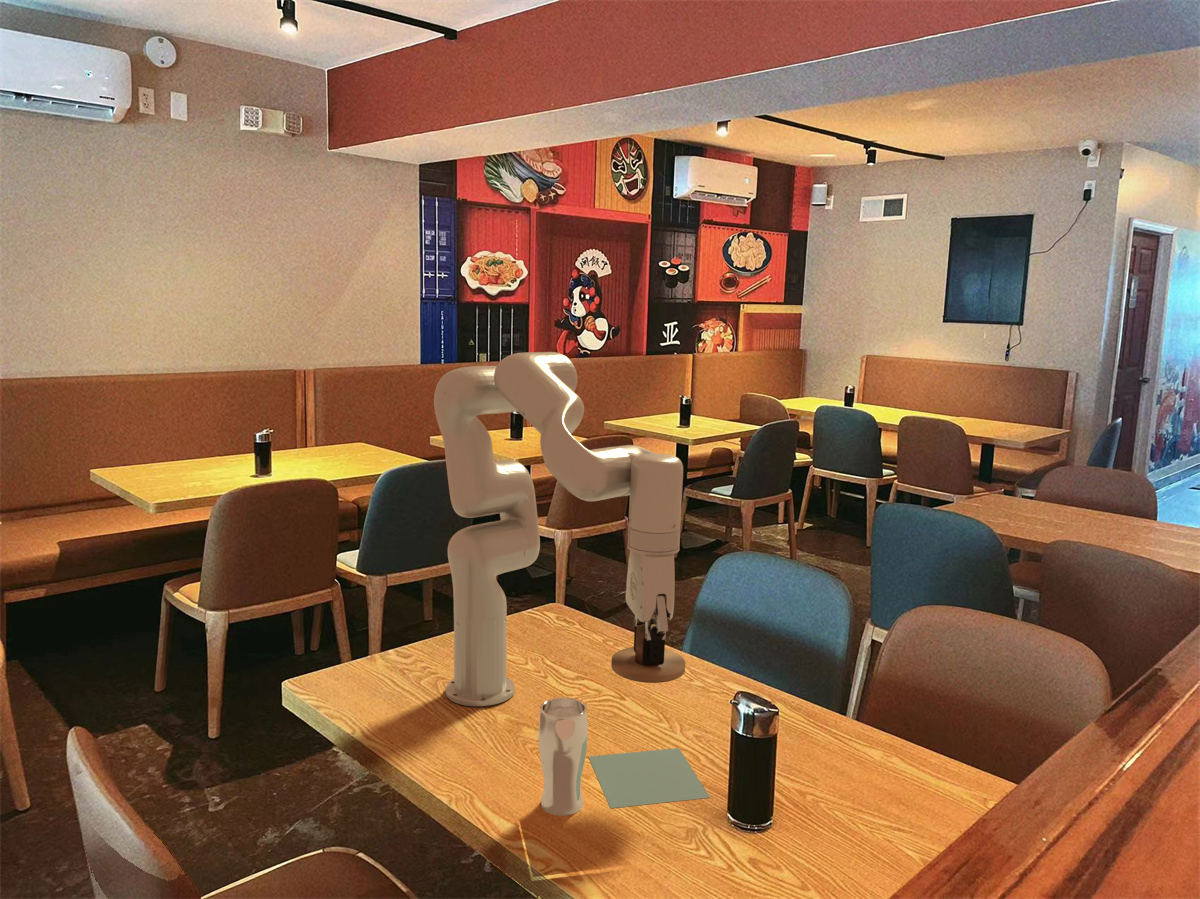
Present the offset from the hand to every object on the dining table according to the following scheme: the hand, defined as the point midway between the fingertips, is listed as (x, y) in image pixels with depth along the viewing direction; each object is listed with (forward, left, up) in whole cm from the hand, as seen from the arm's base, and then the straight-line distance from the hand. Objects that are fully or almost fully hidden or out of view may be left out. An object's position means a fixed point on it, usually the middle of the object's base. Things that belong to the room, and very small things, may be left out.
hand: (648, 656), depth 132 cm
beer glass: (+5, -14, -20) cm, 25 cm away
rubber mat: (0, 0, -19) cm, 19 cm away
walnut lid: (0, 0, -2) cm, 2 cm away
